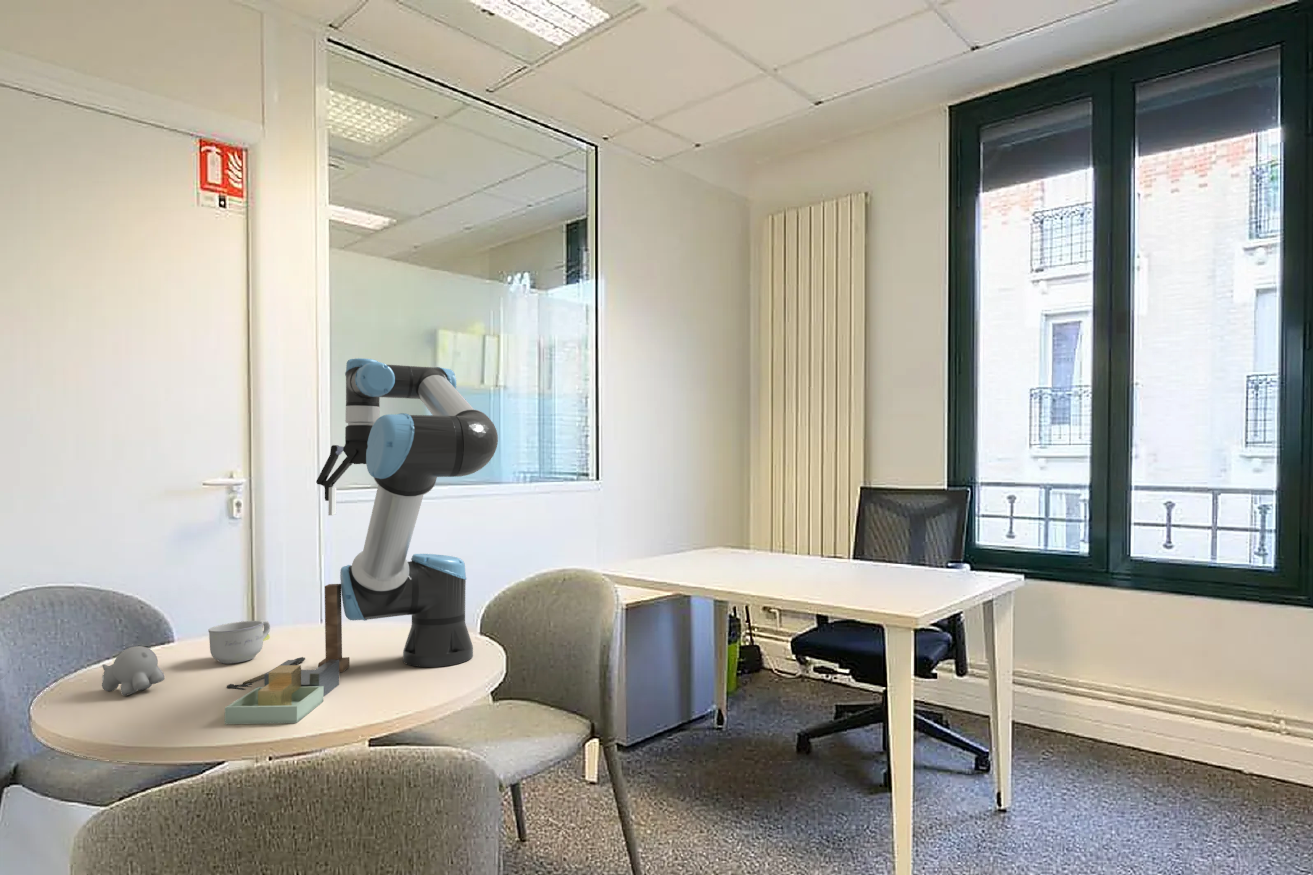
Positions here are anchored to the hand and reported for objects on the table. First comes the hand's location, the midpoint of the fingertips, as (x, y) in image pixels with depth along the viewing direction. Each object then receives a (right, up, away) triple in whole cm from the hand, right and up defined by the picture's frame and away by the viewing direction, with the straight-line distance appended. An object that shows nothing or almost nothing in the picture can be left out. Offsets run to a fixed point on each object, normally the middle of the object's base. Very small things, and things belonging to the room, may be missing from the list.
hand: (361, 515), depth 179 cm
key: (-33, -33, +10) cm, 48 cm away
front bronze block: (+2, -28, -42) cm, 51 cm away
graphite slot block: (+1, -31, -33) cm, 45 cm away
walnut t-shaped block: (+1, -31, -17) cm, 36 cm away
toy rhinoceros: (-33, -31, -32) cm, 55 cm away
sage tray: (+2, -31, -44) cm, 54 cm away
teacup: (-24, -32, -8) cm, 40 cm away
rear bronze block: (+2, -28, -40) cm, 49 cm away
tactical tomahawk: (-10, -32, -21) cm, 39 cm away
